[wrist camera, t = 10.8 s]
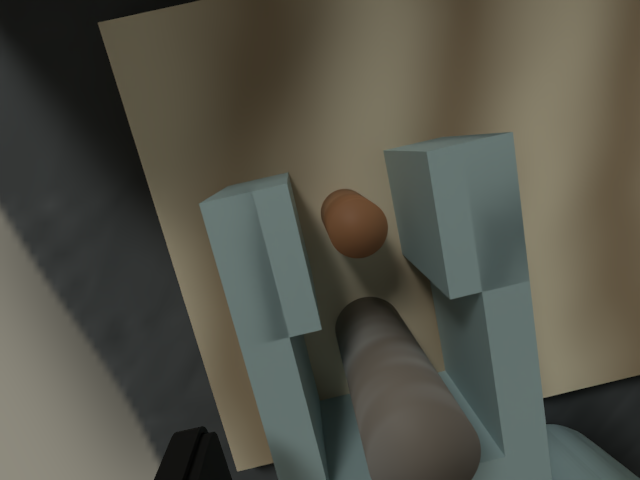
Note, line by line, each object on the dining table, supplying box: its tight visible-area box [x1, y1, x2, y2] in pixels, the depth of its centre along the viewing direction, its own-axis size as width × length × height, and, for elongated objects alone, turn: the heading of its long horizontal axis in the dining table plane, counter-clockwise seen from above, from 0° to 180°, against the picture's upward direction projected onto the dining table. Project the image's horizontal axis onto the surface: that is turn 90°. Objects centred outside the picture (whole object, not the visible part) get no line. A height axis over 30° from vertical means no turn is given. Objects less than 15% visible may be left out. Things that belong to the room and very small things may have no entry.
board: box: [98, 0, 640, 480], centre depth 12 cm, size 20×16×8 cm
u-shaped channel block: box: [199, 132, 552, 480], centre depth 13 cm, size 10×7×4 cm
